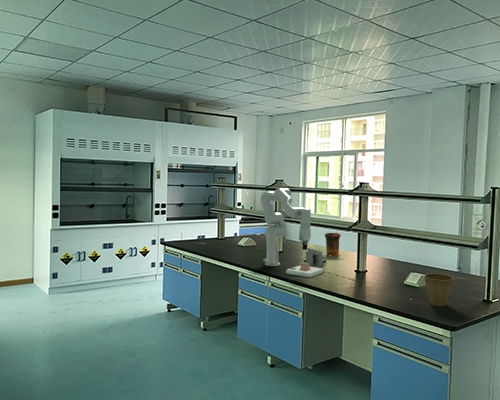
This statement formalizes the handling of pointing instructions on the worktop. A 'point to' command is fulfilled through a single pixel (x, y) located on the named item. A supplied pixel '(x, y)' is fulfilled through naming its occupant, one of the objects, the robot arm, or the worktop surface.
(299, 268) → the socket plate
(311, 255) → the geiger counter
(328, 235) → the vessel
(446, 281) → the plant pot
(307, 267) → the plug
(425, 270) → the worktop surface
